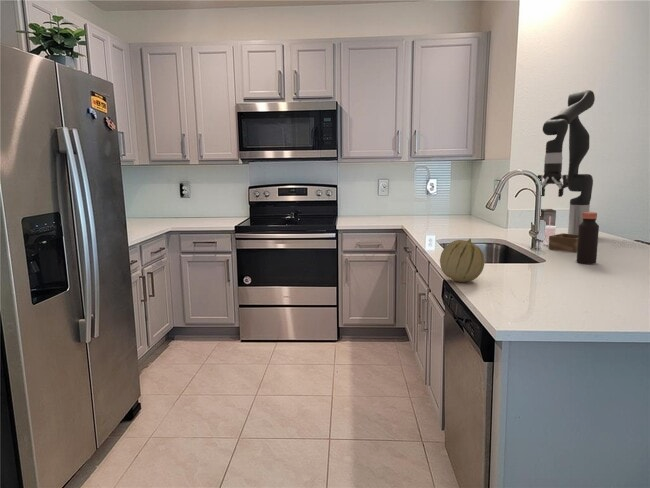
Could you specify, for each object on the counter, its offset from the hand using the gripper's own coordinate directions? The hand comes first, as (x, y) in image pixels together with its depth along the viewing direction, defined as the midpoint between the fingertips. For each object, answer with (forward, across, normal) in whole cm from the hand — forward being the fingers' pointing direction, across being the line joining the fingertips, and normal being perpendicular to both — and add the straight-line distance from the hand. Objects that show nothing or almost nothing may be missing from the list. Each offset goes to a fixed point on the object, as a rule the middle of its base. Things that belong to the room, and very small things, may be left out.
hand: (551, 196), depth 210 cm
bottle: (+24, -31, +29) cm, 49 cm away
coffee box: (+24, +7, -10) cm, 27 cm away
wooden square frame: (+24, -12, +5) cm, 27 cm away
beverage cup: (+24, 0, 0) cm, 24 cm away
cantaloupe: (+24, -17, +88) cm, 93 cm away
